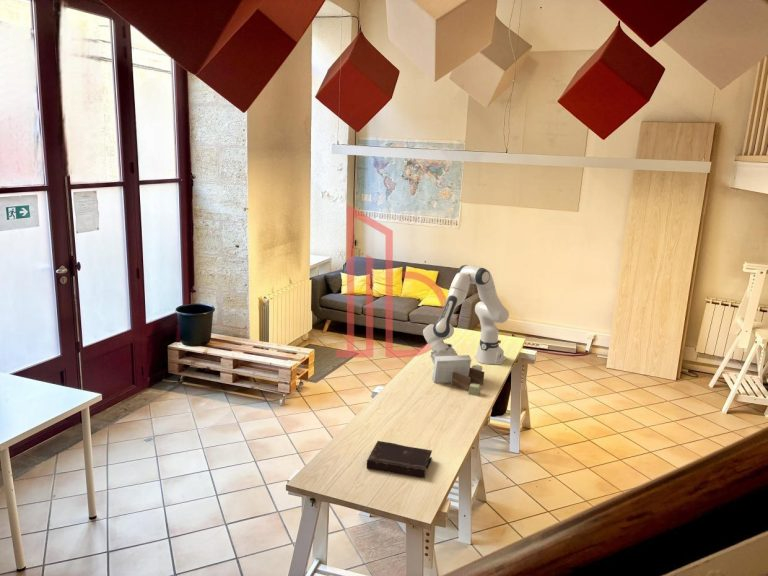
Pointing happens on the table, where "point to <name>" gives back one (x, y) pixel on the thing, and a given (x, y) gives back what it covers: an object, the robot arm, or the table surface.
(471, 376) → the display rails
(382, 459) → the diary
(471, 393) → the olive block
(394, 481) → the table surface
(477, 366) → the grey rounded capsule
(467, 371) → the skincare box
